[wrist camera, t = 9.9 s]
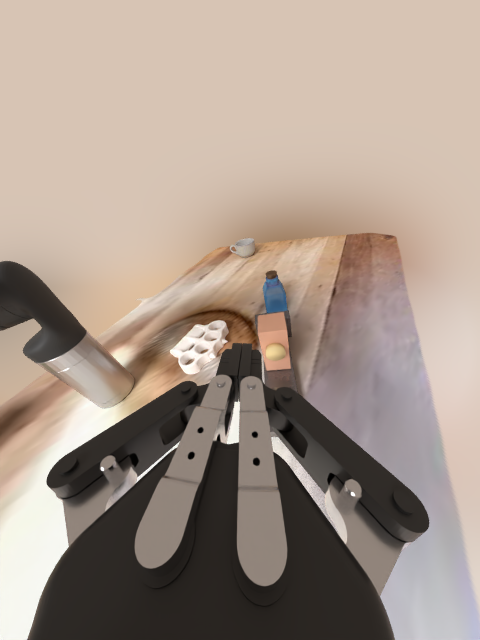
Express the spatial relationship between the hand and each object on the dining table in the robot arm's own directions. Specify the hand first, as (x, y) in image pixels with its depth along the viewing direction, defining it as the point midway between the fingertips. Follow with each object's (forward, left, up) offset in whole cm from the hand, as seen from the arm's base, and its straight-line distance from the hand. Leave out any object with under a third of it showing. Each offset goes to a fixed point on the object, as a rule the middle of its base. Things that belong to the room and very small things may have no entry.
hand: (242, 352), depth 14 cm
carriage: (-11, +12, -22) cm, 27 cm away
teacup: (-80, +51, -24) cm, 98 cm away
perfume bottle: (-29, +27, -24) cm, 47 cm away
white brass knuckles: (-31, +1, -25) cm, 40 cm away
